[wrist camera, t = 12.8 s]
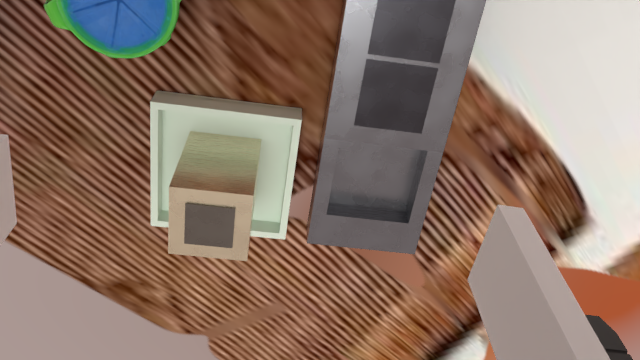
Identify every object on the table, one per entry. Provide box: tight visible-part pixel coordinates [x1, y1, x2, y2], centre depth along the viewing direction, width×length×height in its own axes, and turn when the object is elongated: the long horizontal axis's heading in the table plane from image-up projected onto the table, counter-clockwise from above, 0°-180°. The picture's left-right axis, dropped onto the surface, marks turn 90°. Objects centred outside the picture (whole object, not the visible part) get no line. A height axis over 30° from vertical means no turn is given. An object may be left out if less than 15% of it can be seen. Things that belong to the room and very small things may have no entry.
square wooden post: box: [168, 131, 261, 261], centre depth 48 cm, size 6×6×9 cm
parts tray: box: [150, 91, 302, 239], centre depth 51 cm, size 12×12×2 cm
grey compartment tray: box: [307, 0, 486, 254], centre depth 49 cm, size 10×24×3 cm, turn 172°
